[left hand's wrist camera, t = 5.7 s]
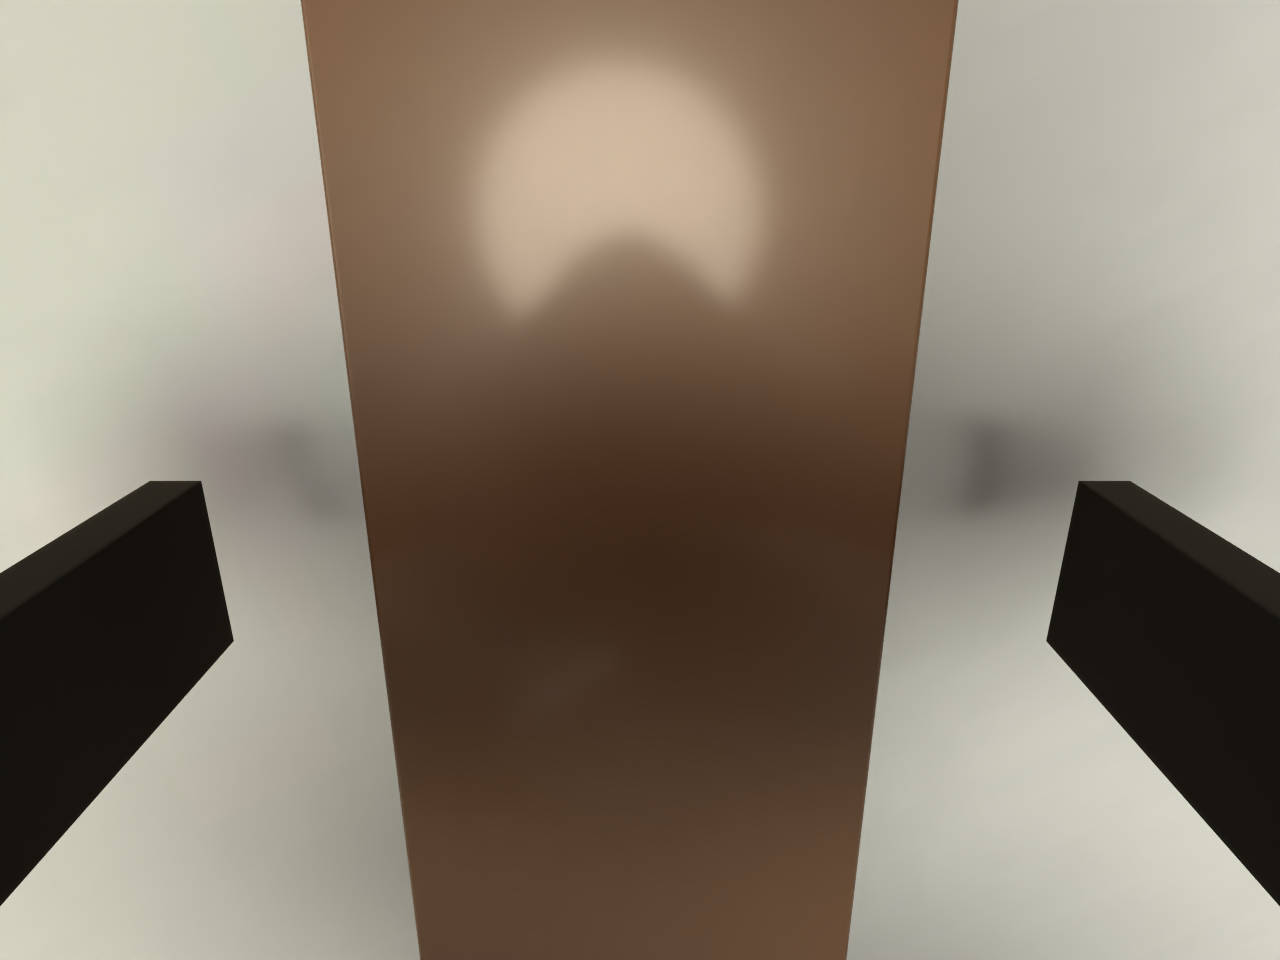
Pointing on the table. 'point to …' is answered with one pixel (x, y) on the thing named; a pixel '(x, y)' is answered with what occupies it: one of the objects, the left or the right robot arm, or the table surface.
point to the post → (631, 445)
